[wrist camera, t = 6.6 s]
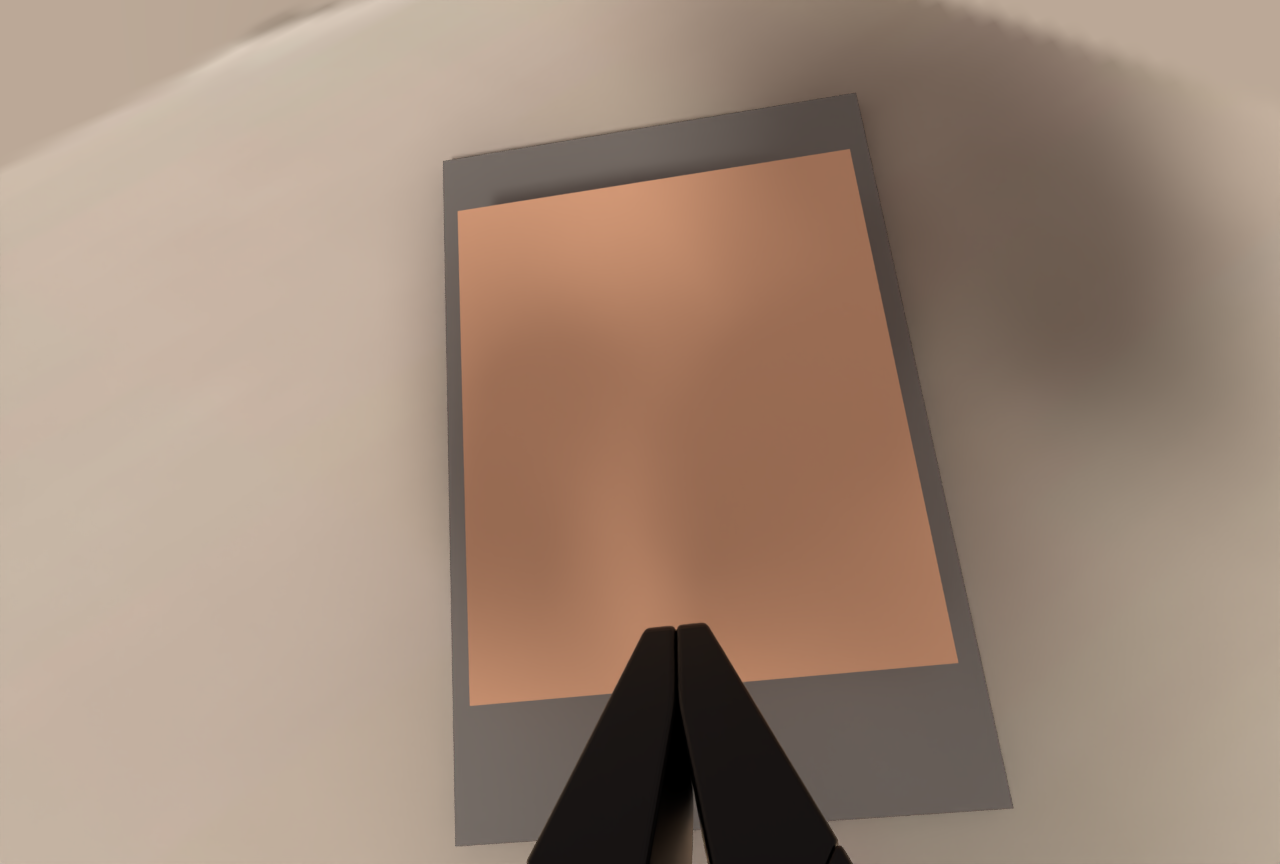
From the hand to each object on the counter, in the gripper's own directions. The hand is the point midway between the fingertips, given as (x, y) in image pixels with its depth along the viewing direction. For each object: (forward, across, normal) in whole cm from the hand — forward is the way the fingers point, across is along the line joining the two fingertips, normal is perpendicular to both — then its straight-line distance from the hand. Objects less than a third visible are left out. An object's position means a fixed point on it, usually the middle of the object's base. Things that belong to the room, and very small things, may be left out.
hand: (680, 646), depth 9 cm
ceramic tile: (+8, 0, 0) cm, 8 cm away
